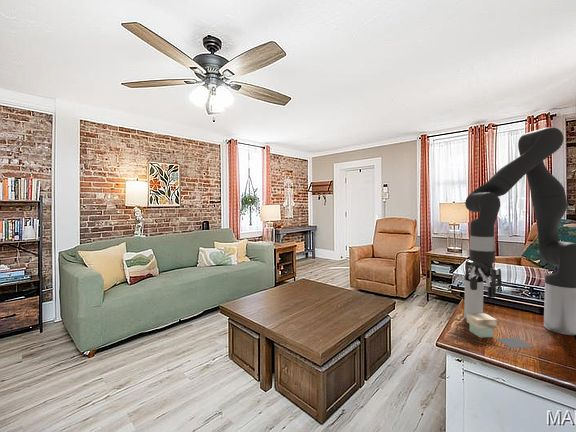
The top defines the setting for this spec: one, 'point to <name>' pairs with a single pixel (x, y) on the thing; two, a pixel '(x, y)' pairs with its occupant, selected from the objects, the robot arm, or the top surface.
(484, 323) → the lid
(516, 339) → the mat
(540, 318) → the top surface
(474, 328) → the mint green open box
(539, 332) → the top surface
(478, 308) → the travel mug
